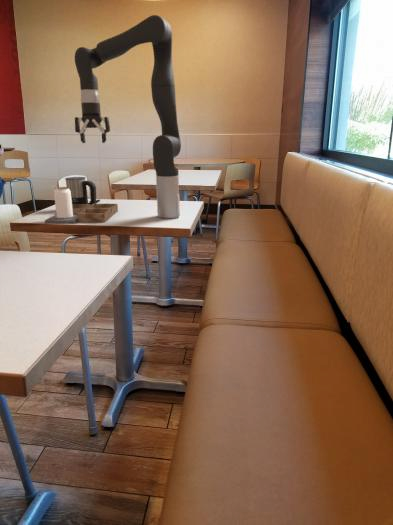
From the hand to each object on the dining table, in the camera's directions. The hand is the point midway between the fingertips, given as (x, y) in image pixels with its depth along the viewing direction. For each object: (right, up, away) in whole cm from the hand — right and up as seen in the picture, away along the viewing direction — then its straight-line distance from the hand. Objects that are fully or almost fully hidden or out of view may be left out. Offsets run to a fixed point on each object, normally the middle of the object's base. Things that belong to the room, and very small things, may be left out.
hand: (93, 143), depth 173 cm
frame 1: (-10, -30, +6) cm, 32 cm away
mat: (-11, -33, -5) cm, 36 cm away
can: (-10, -32, -6) cm, 35 cm away
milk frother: (-9, -25, +21) cm, 34 cm away
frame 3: (+2, -29, +7) cm, 30 cm away
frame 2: (+2, -33, -4) cm, 33 cm away
